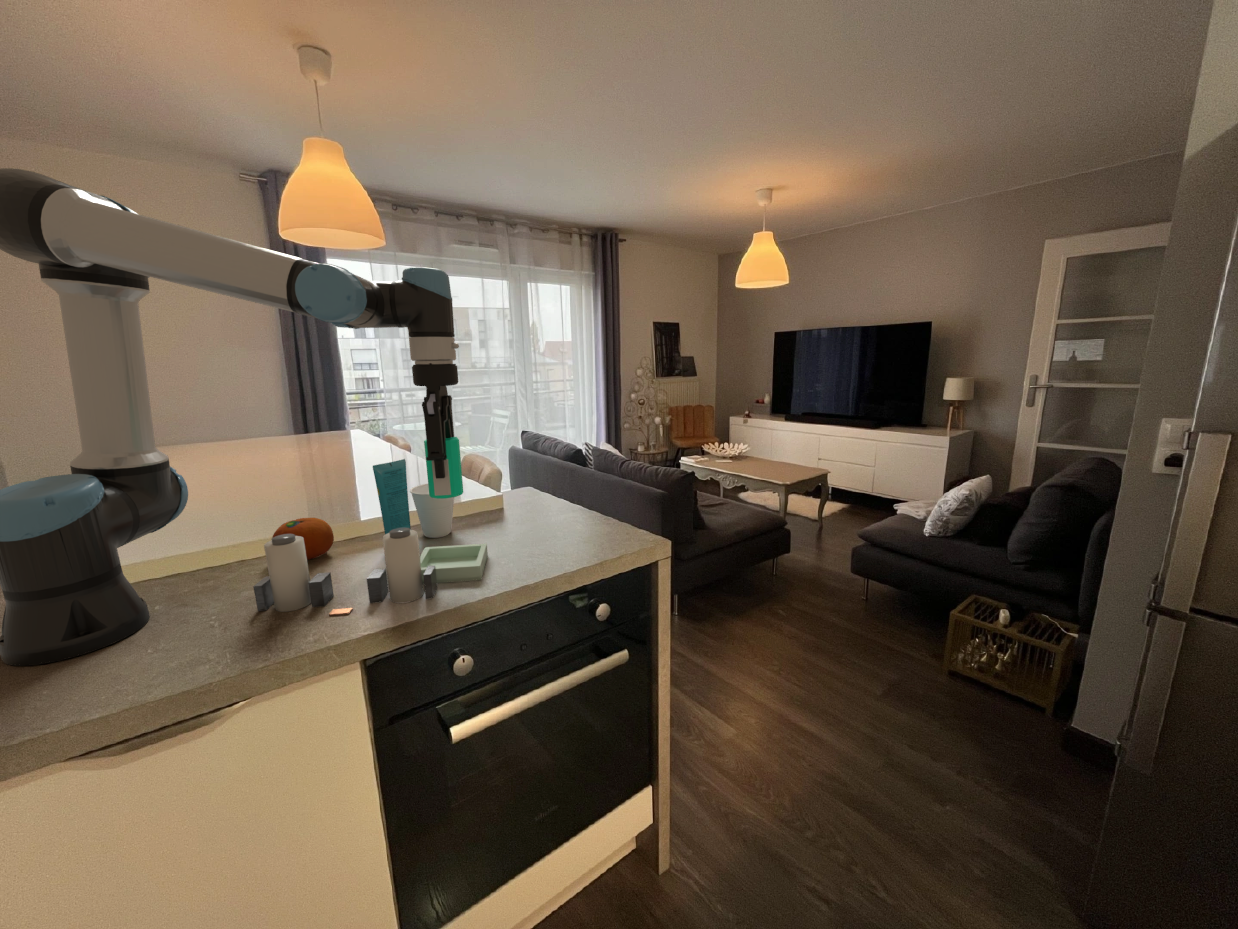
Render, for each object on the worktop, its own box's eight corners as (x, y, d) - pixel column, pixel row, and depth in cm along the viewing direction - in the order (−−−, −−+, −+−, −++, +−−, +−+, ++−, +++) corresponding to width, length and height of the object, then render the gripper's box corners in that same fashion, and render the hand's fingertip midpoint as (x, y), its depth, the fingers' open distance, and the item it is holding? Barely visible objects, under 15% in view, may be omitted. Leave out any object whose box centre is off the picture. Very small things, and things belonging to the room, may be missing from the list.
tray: (412, 584, 90) (411, 570, 89) (426, 560, 100) (425, 547, 100) (481, 580, 91) (480, 565, 91) (487, 556, 102) (486, 543, 101)
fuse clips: (245, 622, 78) (240, 596, 77) (269, 600, 84) (265, 576, 83) (428, 608, 81) (425, 583, 80) (437, 588, 88) (435, 565, 87)
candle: (452, 499, 89) (447, 433, 86) (422, 497, 90) (416, 432, 88) (469, 490, 95) (464, 428, 92) (440, 489, 96) (434, 427, 93)
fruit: (327, 544, 109) (322, 509, 108) (342, 557, 102) (337, 520, 100) (269, 558, 102) (263, 521, 100) (281, 573, 95) (274, 534, 93)
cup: (416, 529, 118) (411, 484, 116) (459, 524, 121) (456, 480, 119) (412, 543, 109) (407, 495, 107) (460, 538, 112) (456, 491, 109)
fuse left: (268, 613, 80) (255, 544, 78) (285, 597, 86) (274, 532, 83) (304, 610, 81) (293, 542, 78) (318, 594, 86) (308, 530, 84)
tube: (405, 542, 110) (396, 457, 106) (421, 545, 108) (413, 459, 104) (376, 554, 103) (365, 464, 99) (393, 558, 101) (383, 466, 97)
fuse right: (385, 604, 83) (377, 537, 80) (395, 589, 88) (387, 526, 85) (419, 601, 84) (412, 535, 81) (426, 587, 89) (420, 524, 86)
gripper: (447, 363, 79) (458, 503, 84) (464, 361, 96) (473, 477, 101) (397, 364, 78) (412, 506, 83) (424, 362, 95) (435, 479, 100)
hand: (446, 490), depth 92 cm, fingers closed on candle, 5 cm apart
